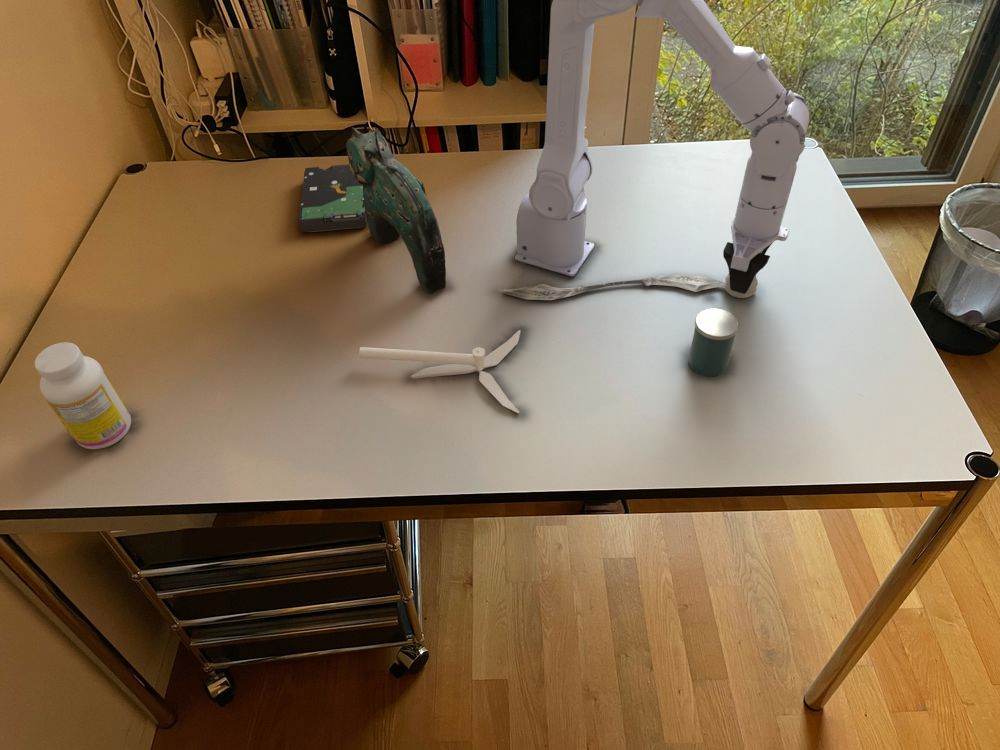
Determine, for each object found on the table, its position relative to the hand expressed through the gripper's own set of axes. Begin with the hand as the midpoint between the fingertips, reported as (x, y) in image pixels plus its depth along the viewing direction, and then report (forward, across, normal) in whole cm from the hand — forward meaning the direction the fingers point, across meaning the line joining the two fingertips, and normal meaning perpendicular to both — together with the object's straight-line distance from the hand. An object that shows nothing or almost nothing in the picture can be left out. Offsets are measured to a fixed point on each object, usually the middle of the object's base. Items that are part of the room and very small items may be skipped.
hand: (742, 280), depth 106 cm
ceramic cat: (+2, -13, +46) cm, 48 cm away
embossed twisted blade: (+2, -7, +16) cm, 18 cm away
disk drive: (+2, -6, +64) cm, 64 cm away
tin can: (+2, -15, 0) cm, 15 cm away
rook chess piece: (+2, 0, 0) cm, 2 cm away
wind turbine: (+2, -30, +30) cm, 42 cm away
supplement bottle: (+2, -57, +62) cm, 84 cm away
